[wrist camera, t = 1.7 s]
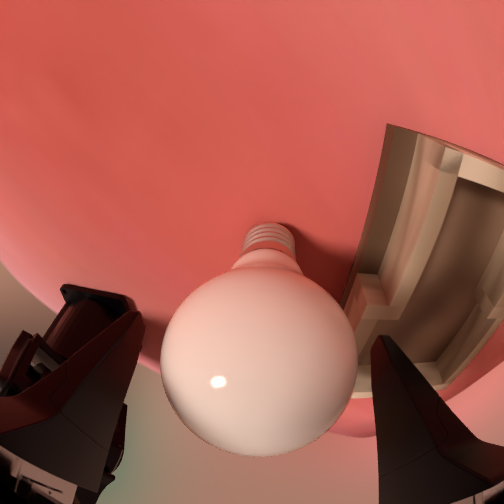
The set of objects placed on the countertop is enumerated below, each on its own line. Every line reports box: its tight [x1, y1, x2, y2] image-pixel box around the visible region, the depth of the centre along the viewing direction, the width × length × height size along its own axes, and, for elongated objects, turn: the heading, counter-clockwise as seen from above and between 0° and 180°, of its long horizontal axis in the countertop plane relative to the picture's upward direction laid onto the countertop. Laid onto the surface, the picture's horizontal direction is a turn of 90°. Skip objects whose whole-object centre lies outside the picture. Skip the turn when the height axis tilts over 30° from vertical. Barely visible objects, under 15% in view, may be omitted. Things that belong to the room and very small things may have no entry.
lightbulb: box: [160, 222, 358, 457], centre depth 11 cm, size 6×6×11 cm
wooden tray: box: [340, 124, 504, 398], centre depth 14 cm, size 12×18×4 cm, turn 177°
